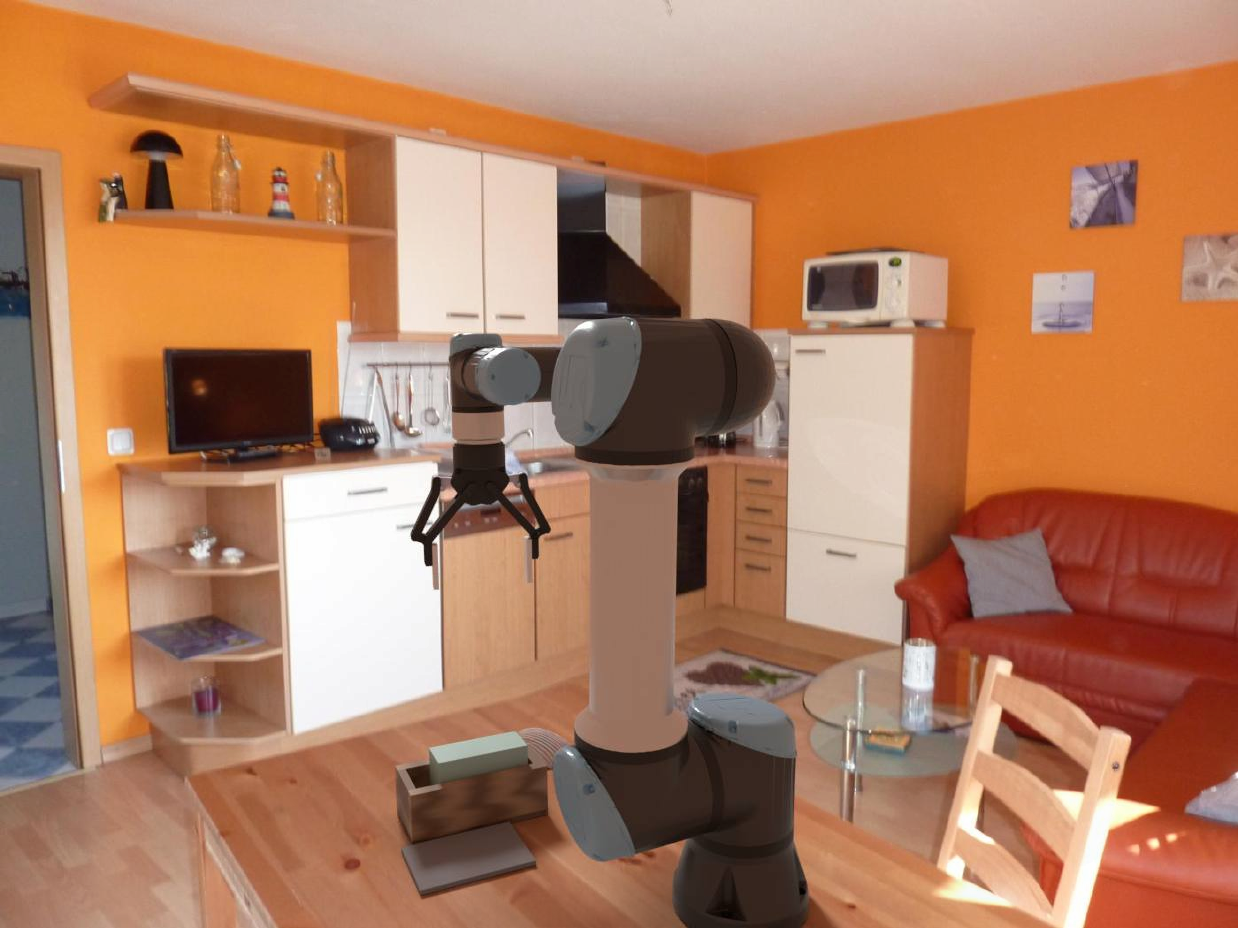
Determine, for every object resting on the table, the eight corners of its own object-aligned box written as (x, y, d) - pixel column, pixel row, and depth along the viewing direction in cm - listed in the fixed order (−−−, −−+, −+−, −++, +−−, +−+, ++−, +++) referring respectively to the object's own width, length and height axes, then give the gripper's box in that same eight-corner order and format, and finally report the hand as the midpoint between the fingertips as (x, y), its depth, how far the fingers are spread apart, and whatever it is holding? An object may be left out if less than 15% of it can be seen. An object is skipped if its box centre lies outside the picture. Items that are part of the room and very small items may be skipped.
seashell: (507, 722, 146) (569, 709, 145) (515, 754, 146) (577, 741, 146) (497, 749, 135) (563, 735, 135) (506, 784, 136) (572, 770, 135)
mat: (536, 864, 111) (535, 860, 111) (420, 895, 105) (420, 890, 105) (509, 825, 120) (509, 821, 120) (401, 851, 114) (401, 847, 114)
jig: (525, 784, 131) (524, 739, 130) (548, 814, 123) (547, 765, 122) (397, 813, 123) (395, 765, 122) (412, 846, 115) (410, 795, 114)
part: (515, 765, 128) (515, 730, 127) (528, 780, 123) (527, 745, 122) (430, 783, 122) (428, 747, 122) (439, 800, 118) (438, 763, 117)
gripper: (558, 435, 140) (561, 571, 143) (389, 441, 134) (395, 583, 136) (568, 440, 133) (570, 584, 135) (390, 446, 126) (396, 597, 129)
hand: (482, 584), depth 136 cm, fingers open, 13 cm apart
